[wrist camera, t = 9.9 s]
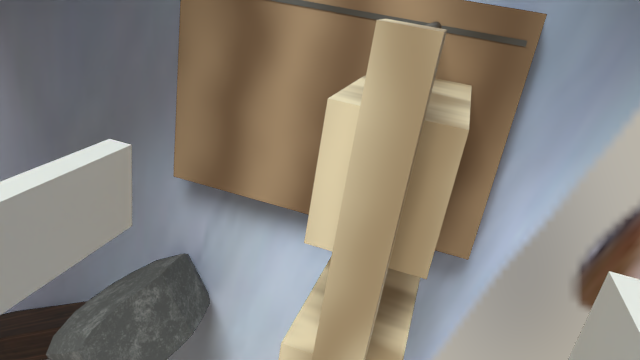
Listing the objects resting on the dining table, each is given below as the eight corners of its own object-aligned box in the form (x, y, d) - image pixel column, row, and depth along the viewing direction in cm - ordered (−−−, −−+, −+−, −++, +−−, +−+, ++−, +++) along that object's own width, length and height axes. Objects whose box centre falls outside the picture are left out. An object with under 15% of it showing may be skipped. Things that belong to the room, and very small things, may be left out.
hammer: (29, 330, 52) (230, 296, 37) (-85, 409, 43) (120, 406, 28) (6, 292, 51) (202, 242, 36) (-116, 364, 42) (79, 337, 27)
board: (189, 167, 35) (173, 176, 33) (200, -44, 29) (181, -47, 27) (468, 244, 30) (468, 260, 28) (541, 13, 25) (547, 14, 23)
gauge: (349, 235, 32) (273, 372, 20) (395, 8, 26) (328, 11, 15) (423, 257, 31) (389, 415, 19) (487, 25, 25) (497, 41, 13)
